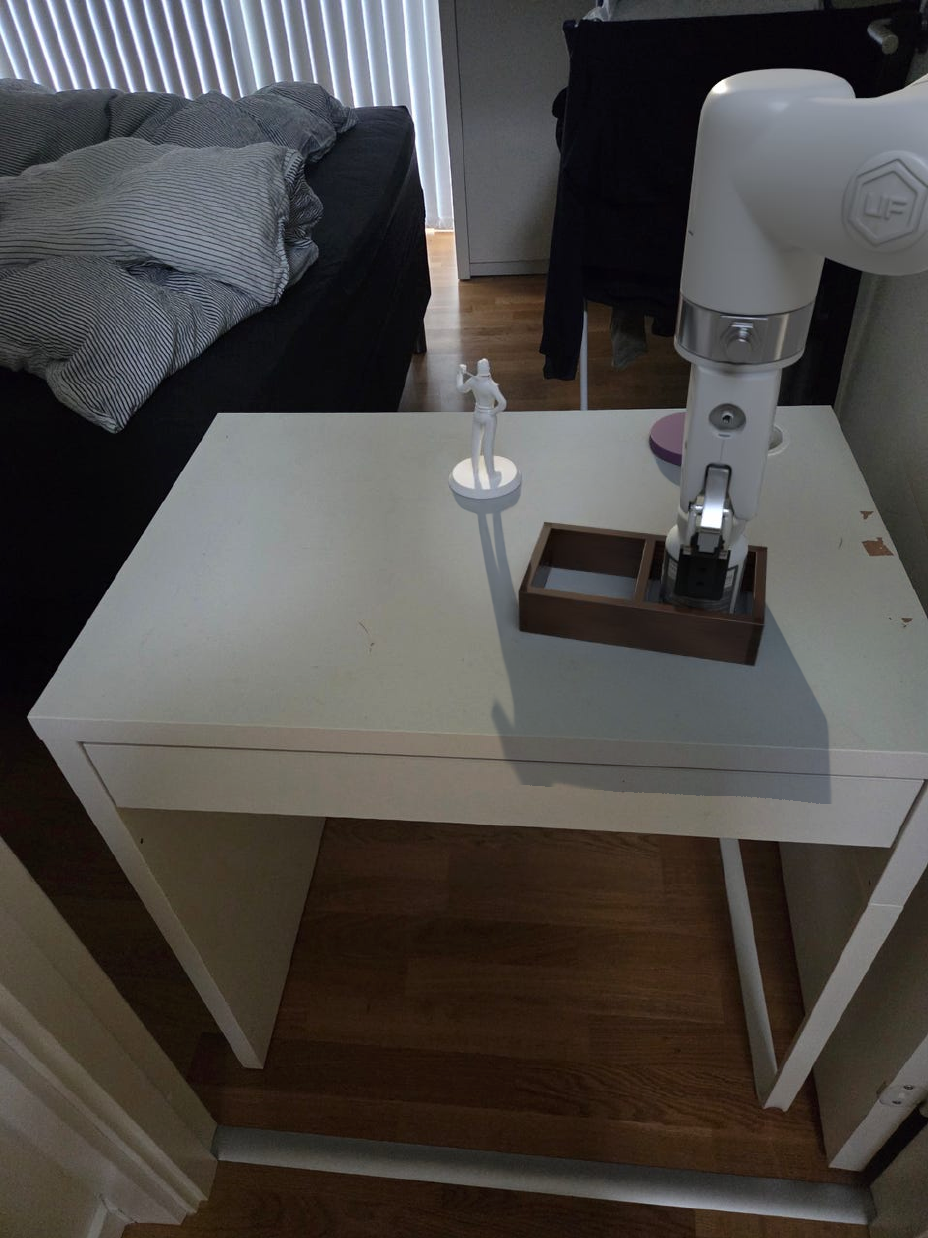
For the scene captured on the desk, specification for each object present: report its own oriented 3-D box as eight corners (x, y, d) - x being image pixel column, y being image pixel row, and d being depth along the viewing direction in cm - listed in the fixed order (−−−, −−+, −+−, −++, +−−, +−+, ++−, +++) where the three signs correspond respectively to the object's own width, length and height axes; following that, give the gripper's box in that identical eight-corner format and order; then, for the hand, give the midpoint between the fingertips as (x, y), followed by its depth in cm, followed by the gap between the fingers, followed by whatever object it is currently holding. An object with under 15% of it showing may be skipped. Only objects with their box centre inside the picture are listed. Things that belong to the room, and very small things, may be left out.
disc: (744, 425, 86) (746, 414, 85) (740, 472, 79) (741, 460, 79) (654, 418, 88) (655, 407, 87) (643, 462, 82) (644, 452, 81)
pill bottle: (676, 583, 68) (691, 478, 61) (745, 608, 65) (768, 501, 58) (644, 624, 64) (655, 517, 58) (715, 651, 62) (735, 543, 55)
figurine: (536, 473, 81) (536, 355, 73) (489, 507, 78) (483, 386, 70) (480, 451, 85) (474, 336, 77) (433, 482, 81) (421, 365, 73)
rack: (758, 587, 67) (767, 546, 64) (754, 666, 60) (764, 624, 58) (544, 560, 71) (544, 521, 69) (519, 631, 65) (518, 591, 62)
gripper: (811, 395, 42) (752, 641, 54) (807, 271, 55) (760, 493, 66) (660, 383, 44) (634, 624, 56) (689, 266, 56) (663, 483, 68)
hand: (703, 553), depth 61 cm, fingers open, 9 cm apart
